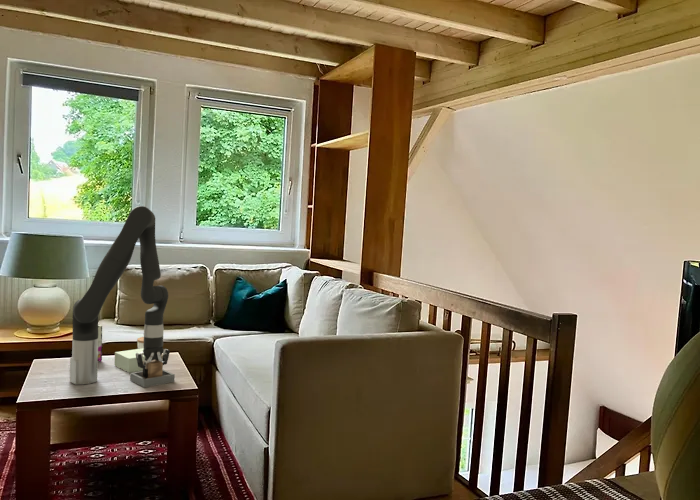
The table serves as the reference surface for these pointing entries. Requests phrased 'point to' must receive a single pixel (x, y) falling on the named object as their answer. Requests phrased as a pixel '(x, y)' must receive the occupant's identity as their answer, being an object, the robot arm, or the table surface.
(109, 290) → the robot arm
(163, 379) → the charcoal bin
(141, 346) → the lidded jar
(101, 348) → the candy bar box
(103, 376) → the table surface
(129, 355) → the block
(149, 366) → the walnut parts box
